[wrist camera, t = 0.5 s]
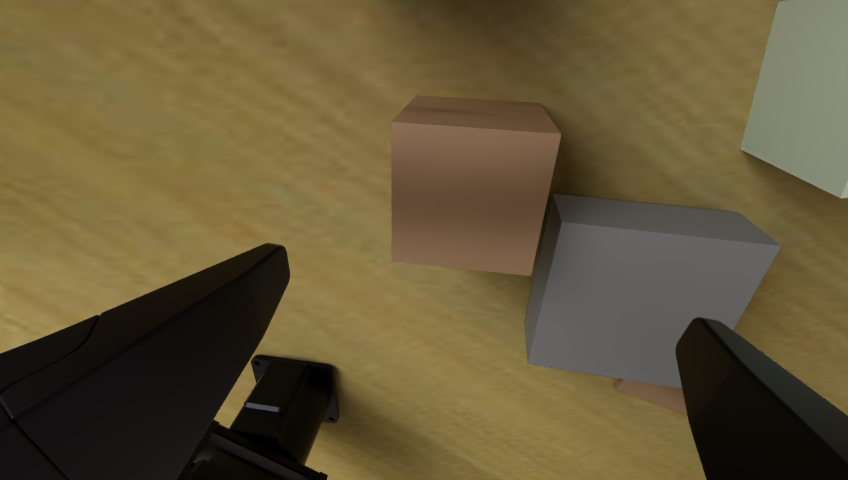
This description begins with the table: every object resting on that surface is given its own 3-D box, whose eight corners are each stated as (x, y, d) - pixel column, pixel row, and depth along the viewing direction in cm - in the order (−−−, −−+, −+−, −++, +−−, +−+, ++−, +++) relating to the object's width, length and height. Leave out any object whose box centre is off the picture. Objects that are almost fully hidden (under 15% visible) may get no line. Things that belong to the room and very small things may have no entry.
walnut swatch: (693, 411, 27) (696, 416, 26) (613, 385, 27) (615, 389, 26) (756, 355, 24) (760, 359, 23) (666, 324, 23) (669, 328, 23)
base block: (673, 344, 24) (698, 391, 21) (524, 323, 25) (527, 363, 22) (737, 212, 19) (781, 246, 16) (553, 193, 20) (561, 221, 17)
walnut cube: (519, 215, 21) (530, 276, 16) (413, 205, 22) (391, 261, 17) (539, 103, 18) (561, 134, 13) (416, 95, 19) (391, 121, 14)
